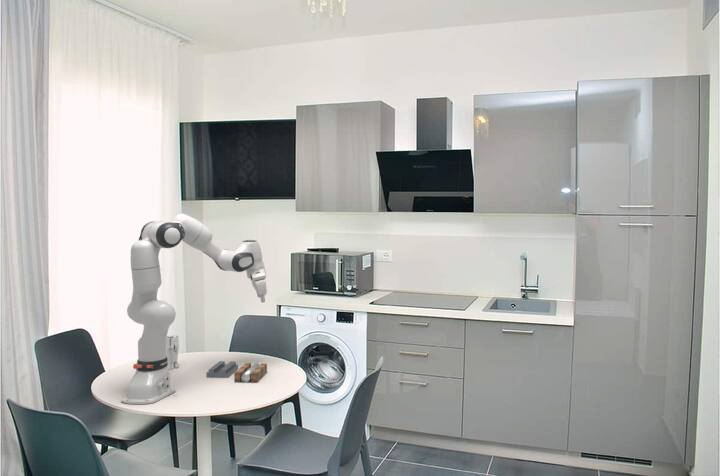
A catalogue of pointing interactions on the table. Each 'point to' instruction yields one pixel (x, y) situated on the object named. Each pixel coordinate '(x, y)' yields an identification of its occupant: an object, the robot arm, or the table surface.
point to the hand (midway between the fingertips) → (261, 299)
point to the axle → (249, 373)
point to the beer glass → (172, 351)
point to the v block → (222, 370)
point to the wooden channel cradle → (255, 375)
